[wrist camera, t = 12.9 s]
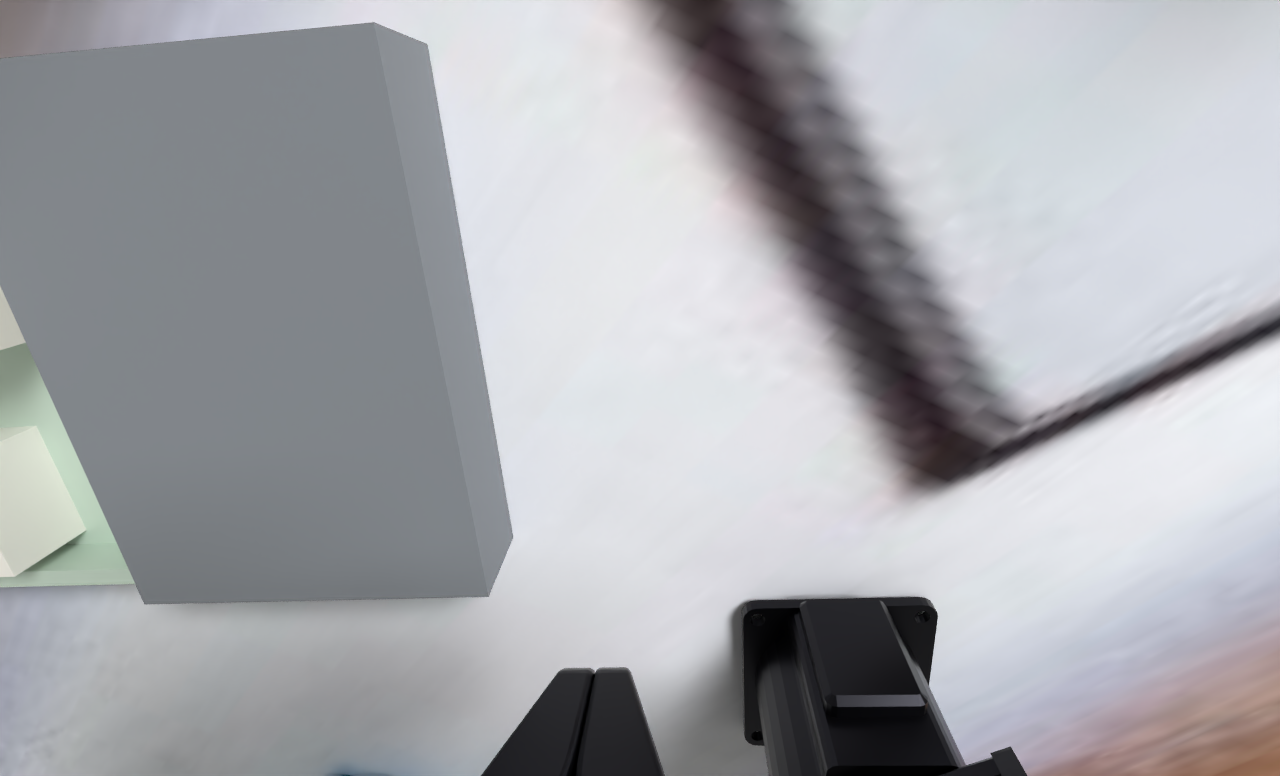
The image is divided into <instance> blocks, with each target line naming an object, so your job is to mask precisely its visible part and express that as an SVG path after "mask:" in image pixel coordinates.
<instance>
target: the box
mask: <svg viewBox="0 0 1280 776" xmlns="http://www.w3.org/2000/svg"><path fill="white" fill-rule="evenodd" d="M23 426H37V429H38V431H39V433H40V435H41V437H42V439H43V441H44V443H45V445H46V447H47V449H48V451H49V453H50V455H51V457H52V460H53V462H54V464H55V466H56V468H57V470H58V472H59V474H60V476H61V478H62V480H63V482H64V484H65V486H66V488H67V491H68V493H69V495H70V497H71V499H72V501H73V503H74V505H75V507H76V509H77V511H78V513H79V515H80V517H81V519H82V522H83V524H84V526H85V528H86V531H84V532H83V533H81V534H80V535H78V536H76V537H75V538H73V539H72V540H70V541H69V542H67V543H66V544H64V545H63V546H61V547H60V548H58V549H57V550H55V551H53V552H52V553H50V554H49V555H47V556H46V557H44V558H43V559H41V560H40V561H38V562H37V563H35V564H34V565H32V566H31V567H29V568H27V569H26V570H24V571H23V572H21V573H20V574H18V575H17V576H15V577H0V587H32V586H73V585H113V584H135V582H134V580H133V578H132V576H131V573H130V571H129V569H128V567H127V565H126V562H125V560H124V558H123V556H122V554H121V551H120V549H119V547H118V545H117V542H116V540H115V538H114V536H113V534H112V531H111V529H110V527H109V525H108V523H107V520H106V518H105V516H104V514H103V512H102V509H101V507H100V505H99V503H98V501H97V498H96V496H95V494H94V492H93V490H92V487H91V485H90V483H89V481H88V479H87V476H86V474H85V472H84V470H83V467H82V465H81V463H80V461H79V459H78V456H77V454H76V452H75V450H74V448H73V445H72V443H71V441H70V439H69V437H68V434H67V432H66V430H65V428H64V426H63V423H62V421H61V419H60V417H59V415H58V412H57V410H56V408H55V406H54V404H53V401H52V399H51V397H50V395H49V392H48V390H47V388H46V386H45V384H44V381H43V379H42V377H41V375H40V373H39V370H38V368H37V366H36V364H35V362H34V359H33V357H32V355H31V353H30V351H29V348H28V346H27V344H26V343H23V344H19V345H16V346H13V347H9V348H6V349H3V350H0V428H6V427H23Z"/></svg>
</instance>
